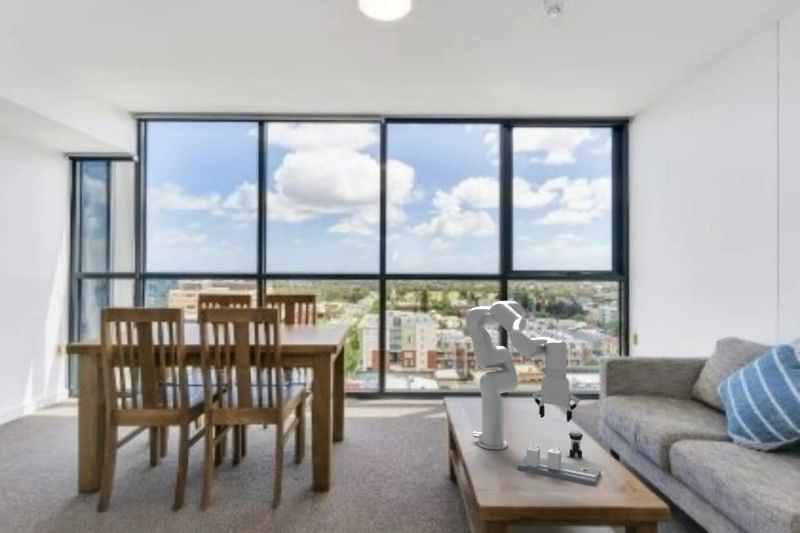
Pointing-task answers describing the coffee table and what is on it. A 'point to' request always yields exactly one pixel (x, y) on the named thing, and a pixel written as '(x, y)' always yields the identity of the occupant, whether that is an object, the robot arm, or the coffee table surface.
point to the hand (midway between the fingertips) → (555, 418)
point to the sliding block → (554, 458)
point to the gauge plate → (565, 472)
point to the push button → (575, 444)
